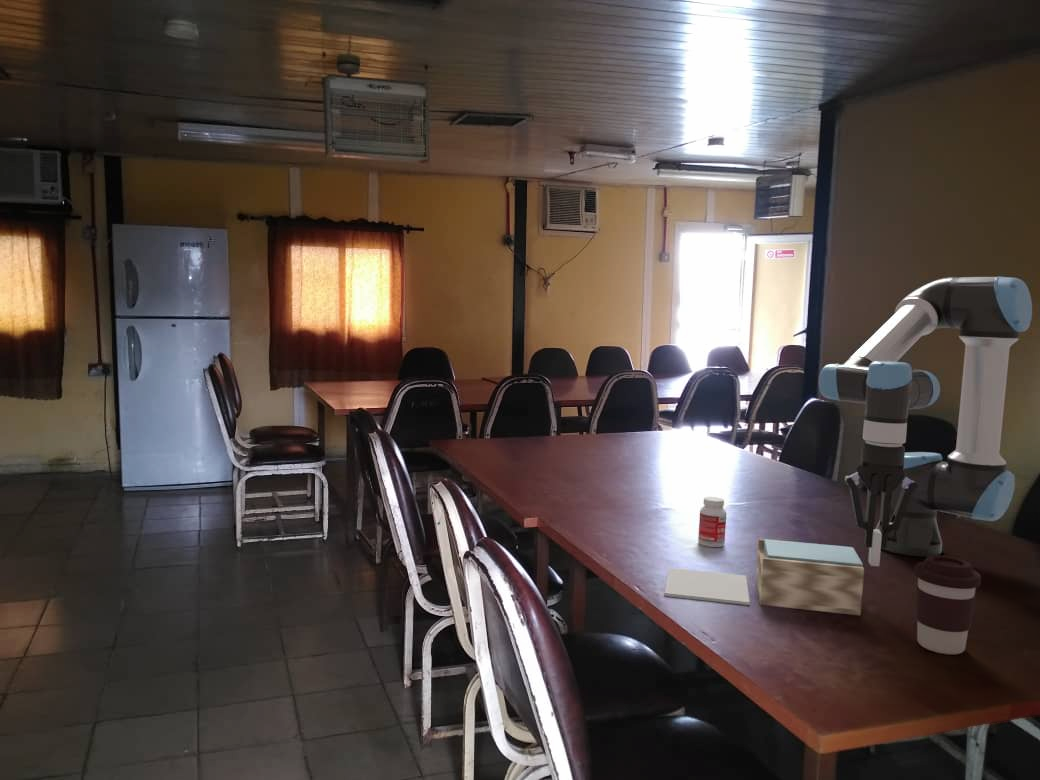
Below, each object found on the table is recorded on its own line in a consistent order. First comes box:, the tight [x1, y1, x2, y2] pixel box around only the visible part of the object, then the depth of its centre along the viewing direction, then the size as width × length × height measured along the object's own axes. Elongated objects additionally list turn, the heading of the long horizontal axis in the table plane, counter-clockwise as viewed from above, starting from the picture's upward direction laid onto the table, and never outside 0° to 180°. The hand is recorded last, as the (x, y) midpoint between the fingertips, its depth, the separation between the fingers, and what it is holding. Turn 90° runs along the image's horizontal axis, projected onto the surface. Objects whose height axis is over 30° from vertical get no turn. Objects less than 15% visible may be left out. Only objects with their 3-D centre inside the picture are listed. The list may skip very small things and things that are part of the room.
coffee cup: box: [914, 554, 982, 655], centre depth 139 cm, size 10×10×15 cm
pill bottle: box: [697, 496, 727, 548], centre depth 195 cm, size 6×6×11 cm
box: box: [755, 538, 865, 616], centre depth 161 cm, size 18×14×9 cm
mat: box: [663, 567, 751, 606], centre depth 166 cm, size 16×16×1 cm
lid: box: [763, 538, 864, 568], centre depth 161 cm, size 17×11×2 cm, turn 77°
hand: (873, 563), depth 158 cm, fingers closed
